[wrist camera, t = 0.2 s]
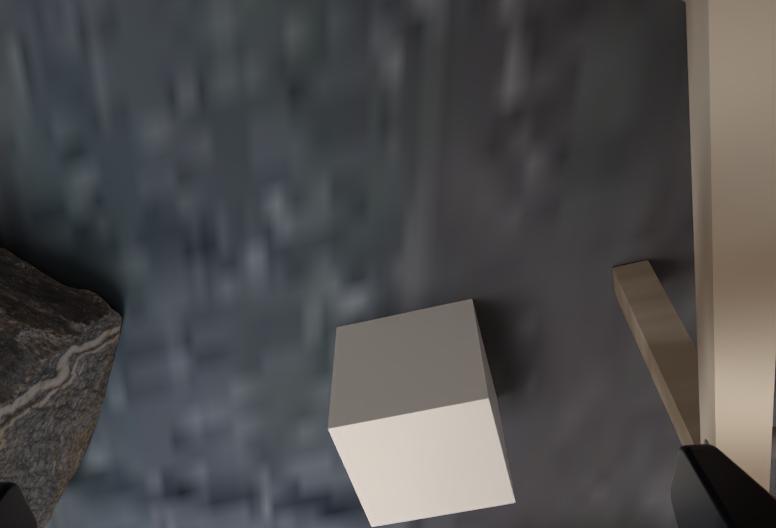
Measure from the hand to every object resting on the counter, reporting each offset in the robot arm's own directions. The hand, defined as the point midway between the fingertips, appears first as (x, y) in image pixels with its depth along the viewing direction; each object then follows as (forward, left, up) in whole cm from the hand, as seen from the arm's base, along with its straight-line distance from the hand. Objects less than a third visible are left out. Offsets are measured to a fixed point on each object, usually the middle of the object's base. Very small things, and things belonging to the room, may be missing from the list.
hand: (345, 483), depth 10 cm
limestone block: (-10, +1, -14) cm, 18 cm away
